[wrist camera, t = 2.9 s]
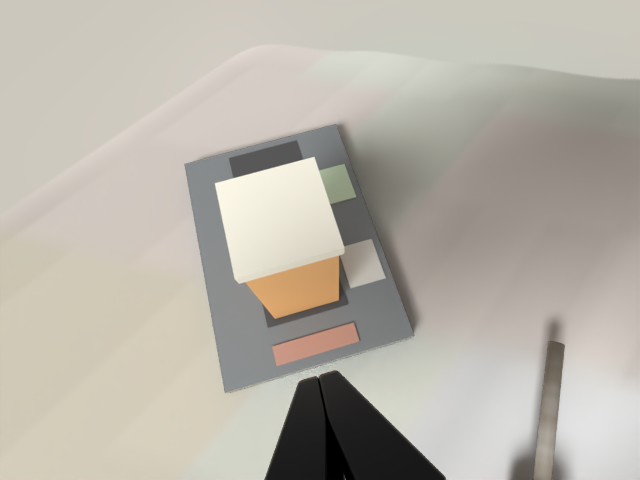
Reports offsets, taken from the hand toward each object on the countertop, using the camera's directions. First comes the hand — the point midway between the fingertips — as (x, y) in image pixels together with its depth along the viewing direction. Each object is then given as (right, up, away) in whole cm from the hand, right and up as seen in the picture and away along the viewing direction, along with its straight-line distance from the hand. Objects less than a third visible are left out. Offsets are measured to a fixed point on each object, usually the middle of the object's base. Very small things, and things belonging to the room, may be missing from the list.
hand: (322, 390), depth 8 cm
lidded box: (-1, +1, +13) cm, 13 cm away
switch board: (-2, +3, +15) cm, 15 cm away
